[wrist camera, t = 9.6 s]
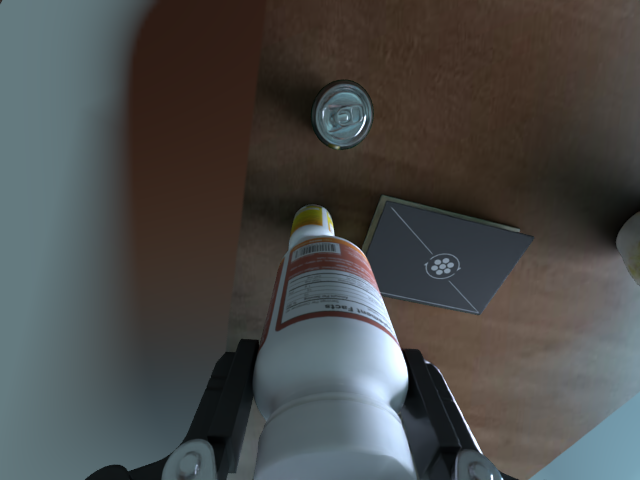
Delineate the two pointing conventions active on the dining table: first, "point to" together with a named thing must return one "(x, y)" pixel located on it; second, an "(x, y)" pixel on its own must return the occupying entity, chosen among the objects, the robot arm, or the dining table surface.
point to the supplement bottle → (310, 224)
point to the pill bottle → (330, 372)
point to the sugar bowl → (630, 246)
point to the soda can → (342, 114)
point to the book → (439, 255)
